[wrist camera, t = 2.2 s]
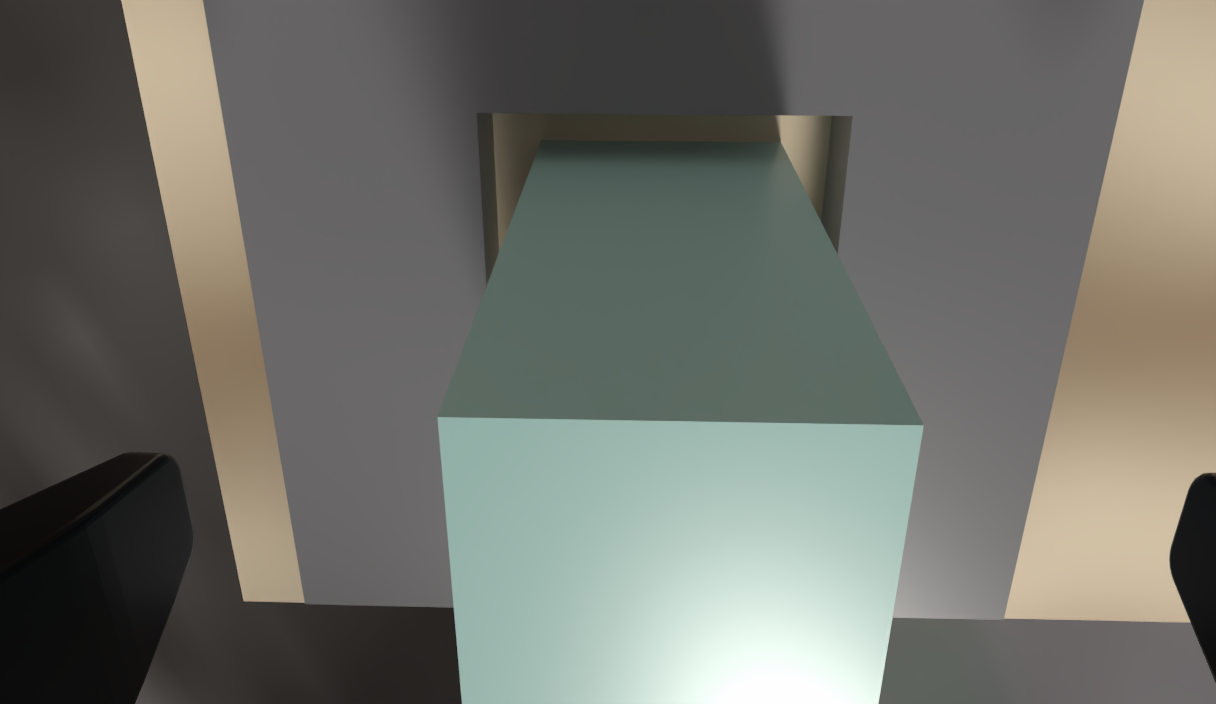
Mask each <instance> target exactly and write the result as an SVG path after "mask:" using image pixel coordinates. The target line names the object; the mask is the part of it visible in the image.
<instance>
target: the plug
mask: <svg viewBox="0 0 1216 704" xmlns="http://www.w3.org/2000/svg"><path fill="white" fill-rule="evenodd" d="M437 418H438V430H439V441H440V453H441V465H442V476H443V488H444V500H445V512H446V523H447V535H448V547H449V558H450V570H451V582H452V593H453V605H454V617H455V629H456V640H457V652H458V664H459V675H460V687H461V699H462V704H878V703H879V697H880V691H881V684H882V678H883V672H884V666H885V660H886V654H887V648H888V642H889V635H890V629H891V623H892V617H893V611H894V605H895V599H896V593H897V586H898V580H899V574H900V568H901V562H902V556H903V550H904V544H905V537H906V531H907V525H908V519H909V513H910V507H911V501H912V495H913V488H914V482H915V476H916V470H917V464H918V458H919V452H920V446H921V439H922V433H923V427H924V425H923V423H922V421H921V419H920V417H919V415H918V413H917V411H916V409H915V407H914V405H913V403H912V401H911V399H910V397H909V395H908V393H907V391H906V389H905V387H904V385H903V383H902V381H901V379H900V377H899V375H898V373H897V371H896V369H895V367H894V365H893V363H892V361H891V359H890V357H889V355H888V353H887V352H886V350H885V348H884V346H883V344H882V342H881V340H880V338H879V336H878V334H877V332H876V330H875V328H874V326H873V324H872V322H871V320H870V318H869V316H868V314H867V312H866V310H865V308H864V306H863V304H862V302H861V300H860V298H859V296H858V294H857V292H856V290H855V288H854V286H853V284H852V282H851V280H850V278H849V276H848V274H847V272H846V270H845V268H844V266H843V264H842V262H841V260H840V258H839V256H838V254H837V252H836V250H835V248H834V246H833V244H832V242H831V240H830V239H829V237H828V235H827V233H826V231H825V229H824V227H823V225H822V223H821V221H820V219H819V217H818V215H817V213H816V211H815V209H814V207H813V205H812V203H811V201H810V199H809V197H808V195H807V193H806V191H805V189H804V187H803V185H802V183H801V181H800V179H799V177H798V175H797V173H796V171H795V169H794V167H793V165H792V163H791V161H790V159H789V157H788V155H787V153H786V151H785V149H784V147H783V145H782V143H781V142H699V141H590V140H541V142H540V145H539V148H538V150H537V153H536V156H535V158H534V161H533V164H532V166H531V169H530V172H529V174H528V177H527V180H526V182H525V185H524V188H523V190H522V193H521V196H520V198H519V201H518V204H517V206H516V209H515V212H514V214H513V217H512V220H511V222H510V225H509V228H508V230H507V233H506V236H505V238H504V241H503V244H502V246H501V249H500V252H499V254H498V257H497V260H496V262H495V265H494V268H493V270H492V273H491V276H490V278H489V281H488V284H487V286H486V289H485V292H484V294H483V297H482V300H481V302H480V305H479V308H478V310H477V313H476V316H475V318H474V321H473V324H472V326H471V329H470V332H469V334H468V337H467V340H466V342H465V345H464V348H463V350H462V353H461V356H460V358H459V361H458V364H457V366H456V369H455V372H454V374H453V377H452V380H451V382H450V385H449V388H448V390H447V393H446V396H445V398H444V401H443V404H442V406H441V409H440V412H439V414H438V417H437Z"/></svg>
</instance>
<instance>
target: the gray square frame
mask: <svg viewBox="0 0 1216 704" xmlns="http://www.w3.org/2000/svg"><path fill="white" fill-rule="evenodd" d="M1143 3H1144V0H203V4H204V10H205V16H206V22H207V28H208V34H209V40H210V46H211V52H212V57H213V63H214V69H215V75H216V81H217V87H218V93H219V99H220V105H221V111H222V117H223V122H224V128H225V134H226V140H227V146H228V152H229V158H230V164H231V170H232V176H233V182H234V187H235V193H236V199H237V205H238V211H239V217H240V223H241V229H242V235H243V241H244V247H245V253H246V258H247V264H248V270H249V276H250V282H251V288H252V294H253V300H254V306H255V312H256V318H257V323H258V329H259V335H260V341H261V347H262V353H263V359H264V365H265V371H266V377H267V383H268V388H269V394H270V400H271V406H272V412H273V418H274V424H275V430H276V436H277V442H278V448H279V453H280V459H281V465H282V471H283V477H284V483H285V489H286V495H287V501H288V507H289V513H290V518H291V524H292V530H293V536H294V542H295V548H296V554H297V560H298V566H299V572H300V578H301V584H302V589H303V595H304V601H305V604H317V605H361V606H406V607H450V608H454V605H453V593H452V582H451V570H450V558H449V547H448V535H447V523H446V512H445V500H444V488H443V476H442V465H441V453H440V441H439V430H438V418H437V417H438V414H439V412H440V409H441V406H442V404H443V401H444V398H445V396H446V393H447V390H448V388H449V385H450V382H451V380H452V377H453V374H454V372H455V369H456V366H457V364H458V361H459V358H460V356H461V353H462V350H463V348H464V345H465V342H466V340H467V337H468V334H469V332H470V329H471V326H472V324H473V321H474V318H475V316H476V313H477V310H478V308H479V305H480V302H481V300H482V297H483V294H484V292H485V289H486V286H487V284H488V281H489V278H490V276H491V273H492V270H493V268H494V265H495V262H496V260H497V257H498V254H499V235H498V215H497V195H496V174H495V154H494V134H493V114H492V113H552V114H672V115H791V116H832V120H831V130H830V140H829V150H828V160H827V170H826V180H825V190H824V200H823V210H822V220H821V223H822V225H823V227H824V229H825V231H826V233H827V235H828V237H829V239H830V240H831V242H832V244H833V246H834V248H835V250H836V252H837V254H838V256H839V258H840V260H841V262H842V264H843V266H844V268H845V270H846V272H847V274H848V276H849V278H850V280H851V282H852V284H853V286H854V288H855V290H856V292H857V294H858V296H859V298H860V300H861V302H862V304H863V306H864V308H865V310H866V312H867V314H868V316H869V318H870V320H871V322H872V324H873V326H874V328H875V330H876V332H877V334H878V336H879V338H880V340H881V342H882V344H883V346H884V348H885V350H886V352H887V353H888V355H889V357H890V359H891V361H892V363H893V365H894V367H895V369H896V371H897V373H898V375H899V377H900V379H901V381H902V383H903V385H904V387H905V389H906V391H907V393H908V395H909V397H910V399H911V401H912V403H913V405H914V407H915V409H916V411H917V413H918V415H919V417H920V419H921V421H922V423H923V425H924V427H923V433H922V439H921V446H920V452H919V458H918V464H917V470H916V476H915V482H914V488H913V495H912V501H911V507H910V513H909V519H908V525H907V531H906V537H905V544H904V550H903V556H902V562H901V568H900V574H899V580H898V586H897V593H896V599H895V605H894V611H893V617H896V618H940V619H985V620H1004V616H1005V612H1006V607H1007V603H1008V598H1009V594H1010V590H1011V585H1012V581H1013V576H1014V572H1015V568H1016V563H1017V559H1018V554H1019V550H1020V546H1021V541H1022V537H1023V532H1024V528H1025V523H1026V519H1027V515H1028V510H1029V506H1030V501H1031V497H1032V493H1033V488H1034V484H1035V479H1036V475H1037V471H1038V466H1039V462H1040V457H1041V453H1042V448H1043V444H1044V440H1045V435H1046V431H1047V426H1048V422H1049V418H1050V413H1051V409H1052V404H1053V400H1054V396H1055V391H1056V387H1057V382H1058V378H1059V373H1060V369H1061V365H1062V360H1063V356H1064V351H1065V347H1066V343H1067V338H1068V334H1069V329H1070V325H1071V321H1072V316H1073V312H1074V307H1075V303H1076V299H1077V294H1078V290H1079V285H1080V281H1081V276H1082V272H1083V268H1084V263H1085V259H1086V254H1087V250H1088V246H1089V241H1090V237H1091V232H1092V228H1093V224H1094V219H1095V215H1096V210H1097V206H1098V201H1099V197H1100V193H1101V188H1102V184H1103V179H1104V175H1105V171H1106V166H1107V162H1108V157H1109V153H1110V149H1111V144H1112V140H1113V135H1114V131H1115V126H1116V122H1117V118H1118V113H1119V109H1120V104H1121V100H1122V96H1123V91H1124V87H1125V82H1126V78H1127V74H1128V69H1129V65H1130V60H1131V56H1132V51H1133V47H1134V43H1135V38H1136V34H1137V29H1138V25H1139V21H1140V16H1141V12H1142V7H1143Z"/></svg>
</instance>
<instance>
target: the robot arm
mask: <svg viewBox="0 0 1216 704" xmlns="http://www.w3.org/2000/svg"><path fill="white" fill-rule="evenodd" d="M193 546H194V529H193V523H192V519H191V514H190V510H189V505H188V501H187V496H186V492H185V487H184V483H183V478H182V474H181V470H180V467H179V464H178V463H177V461H176V459H175V458H173V457H172V456H171V455H169V454H166V453H137V452H130V453H124V454H121V455H119V456H117V457H114V458H112V459H110V460H108V461H106V462H103V463H101V464H99V465H97V466H95V467H92V468H90V469H88V470H86V471H84V472H81V473H79V474H77V475H75V476H73V477H70V478H68V479H66V480H64V481H62V482H59V483H57V484H55V485H53V486H51V487H48V488H46V489H44V490H42V491H40V492H37V493H35V494H33V495H31V496H29V497H26V498H24V499H22V500H20V501H18V502H15V503H13V504H11V505H9V506H7V507H4V508H2V509H0V704H135V702H136V700H137V697H138V695H139V692H140V690H141V688H142V685H143V683H144V680H145V678H146V675H147V673H148V670H149V667H150V665H151V662H152V659H153V657H154V654H155V651H156V649H157V646H158V643H159V641H160V638H161V635H162V633H163V630H164V628H165V625H166V622H167V620H168V617H169V614H170V612H171V609H172V606H173V604H174V601H175V598H176V596H177V593H178V590H179V588H180V585H181V582H182V580H183V577H184V574H185V572H186V569H187V567H188V564H189V561H190V558H191V555H192V551H193ZM1169 562H1170V570H1171V575H1172V578H1173V581H1174V584H1175V586H1176V588H1177V591H1178V593H1179V596H1180V598H1181V600H1182V603H1183V605H1184V608H1185V610H1186V612H1187V615H1188V617H1189V620H1190V622H1191V624H1192V627H1193V629H1194V632H1195V634H1196V636H1197V639H1198V641H1199V644H1200V646H1201V648H1202V651H1203V653H1204V656H1205V658H1206V660H1207V663H1208V665H1209V668H1210V670H1211V673H1212V675H1213V677H1214V680H1215V682H1216V473H1203V474H1201V475H1200V476H1198V477H1196V478H1195V479H1194V481H1193V482H1192V483H1191V485H1190V487H1189V490H1188V493H1187V496H1186V499H1185V502H1184V506H1183V509H1182V512H1181V515H1180V519H1179V522H1178V525H1177V528H1176V532H1175V535H1174V538H1173V541H1172V545H1171V549H1170V557H1169Z"/></svg>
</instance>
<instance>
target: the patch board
mask: <svg viewBox="0 0 1216 704" xmlns="http://www.w3.org/2000/svg"><path fill="white" fill-rule="evenodd" d="M121 1H122V6H123V11H124V16H125V21H126V26H127V31H128V36H129V40H130V45H131V50H132V55H133V60H134V65H135V70H136V75H137V80H138V85H139V90H140V95H141V99H142V104H143V109H144V114H145V119H146V124H147V129H148V134H149V139H150V144H151V149H152V154H153V158H154V163H155V168H156V173H157V178H158V183H159V188H160V193H161V198H162V203H163V208H164V213H165V217H166V222H167V227H168V232H169V237H170V242H171V247H172V252H173V257H174V262H175V267H176V271H177V276H178V281H179V286H180V291H181V296H182V301H183V306H184V311H185V316H186V321H187V326H188V330H189V335H190V340H191V345H192V350H193V355H194V360H195V365H196V370H197V375H198V380H199V385H200V389H201V394H202V399H203V404H204V409H205V414H206V419H207V424H208V429H209V434H210V439H211V444H212V448H213V453H214V458H215V463H216V468H217V473H218V478H219V483H220V488H221V493H222V498H223V502H224V507H225V512H226V517H227V522H228V527H229V532H230V537H231V542H232V547H233V552H234V557H235V561H236V566H237V571H238V576H239V581H240V586H241V591H242V596H243V601H254V602H299V603H305V601H304V595H303V589H302V584H301V578H300V572H299V566H298V560H297V554H296V548H295V542H294V536H293V530H292V524H291V518H290V513H289V507H288V501H287V495H286V489H285V483H284V477H283V471H282V465H281V459H280V453H279V448H278V442H277V436H276V430H275V424H274V418H273V412H272V406H271V400H270V394H269V388H268V383H267V377H266V371H265V365H264V359H263V353H262V347H261V341H260V335H259V329H258V323H257V318H256V312H255V306H254V300H253V294H252V288H251V282H250V276H249V270H248V264H247V258H246V253H245V247H244V241H243V235H242V229H241V223H240V217H239V211H238V205H237V199H236V193H235V187H234V182H233V176H232V170H231V164H230V158H229V152H228V146H227V140H226V134H225V128H224V122H223V117H222V111H221V105H220V99H219V93H218V87H217V81H216V75H215V69H214V63H213V57H212V52H211V46H210V40H209V34H208V28H207V22H206V16H205V10H204V4H203V0H121ZM492 114H493V134H494V154H495V174H496V195H497V215H498V235H499V252H500V249H501V246H502V244H503V241H504V238H505V236H506V233H507V230H508V228H509V225H510V222H511V220H512V217H513V214H514V212H515V209H516V206H517V204H518V201H519V198H520V196H521V193H522V190H523V188H524V185H525V182H526V180H527V177H528V174H529V172H530V169H531V166H532V164H533V161H534V158H535V156H536V153H537V150H538V148H539V145H540V142H541V140H590V141H699V142H781V143H782V145H783V147H784V149H785V151H786V153H787V155H788V157H789V159H790V161H791V163H792V165H793V167H794V169H795V171H796V173H797V175H798V177H799V179H800V181H801V183H802V185H803V187H804V189H805V191H806V193H807V195H808V197H809V199H810V201H811V203H812V205H813V207H814V209H815V211H816V213H817V215H818V217H819V219H820V221H821V220H822V210H823V200H824V190H825V180H826V170H827V160H828V150H829V140H830V130H831V120H832V116H791V115H672V114H552V113H492ZM1203 473H1216V0H1144V3H1143V7H1142V12H1141V16H1140V21H1139V25H1138V29H1137V34H1136V38H1135V43H1134V47H1133V51H1132V56H1131V60H1130V65H1129V69H1128V74H1127V78H1126V82H1125V87H1124V91H1123V96H1122V100H1121V104H1120V109H1119V113H1118V118H1117V122H1116V126H1115V131H1114V135H1113V140H1112V144H1111V149H1110V153H1109V157H1108V162H1107V166H1106V171H1105V175H1104V179H1103V184H1102V188H1101V193H1100V197H1099V201H1098V206H1097V210H1096V215H1095V219H1094V224H1093V228H1092V232H1091V237H1090V241H1089V246H1088V250H1087V254H1086V259H1085V263H1084V268H1083V272H1082V276H1081V281H1080V285H1079V290H1078V294H1077V299H1076V303H1075V307H1074V312H1073V316H1072V321H1071V325H1070V329H1069V334H1068V338H1067V343H1066V347H1065V351H1064V356H1063V360H1062V365H1061V369H1060V373H1059V378H1058V382H1057V387H1056V391H1055V396H1054V400H1053V404H1052V409H1051V413H1050V418H1049V422H1048V426H1047V431H1046V435H1045V440H1044V444H1043V448H1042V453H1041V457H1040V462H1039V466H1038V471H1037V475H1036V479H1035V484H1034V488H1033V493H1032V497H1031V501H1030V506H1029V510H1028V515H1027V519H1026V523H1025V528H1024V532H1023V537H1022V541H1021V546H1020V550H1019V554H1018V559H1017V563H1016V568H1015V572H1014V576H1013V581H1012V585H1011V590H1010V594H1009V598H1008V603H1007V607H1006V612H1005V616H1004V618H1013V619H1058V620H1102V621H1147V622H1190V620H1189V617H1188V615H1187V612H1186V610H1185V608H1184V605H1183V603H1182V600H1181V598H1180V596H1179V593H1178V591H1177V588H1176V586H1175V584H1174V581H1173V578H1172V575H1171V570H1170V562H1169V557H1170V549H1171V545H1172V541H1173V538H1174V535H1175V532H1176V528H1177V525H1178V522H1179V519H1180V515H1181V512H1182V509H1183V506H1184V502H1185V499H1186V496H1187V493H1188V490H1189V487H1190V485H1191V483H1192V482H1193V481H1194V479H1195V478H1196V477H1198V476H1200V475H1201V474H1203Z"/></svg>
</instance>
